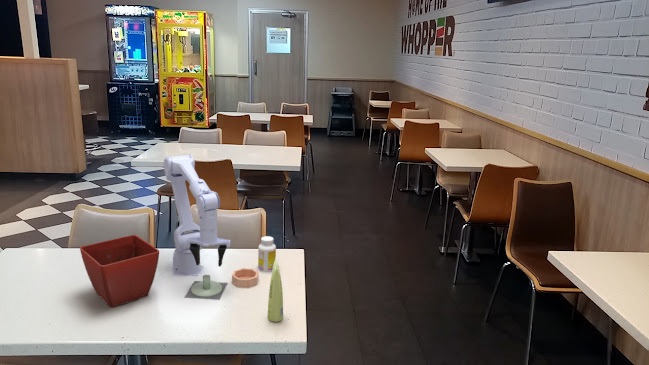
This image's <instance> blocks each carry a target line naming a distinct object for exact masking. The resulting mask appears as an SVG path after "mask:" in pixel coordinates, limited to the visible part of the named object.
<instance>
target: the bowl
mask: <svg viewBox="0 0 649 365" xmlns="http://www.w3.org/2000/svg"><path fill="white" fill-rule="evenodd" d="M259 274H260V272H258V270H255V269H254V268H248V267H247V268H245V267H243V268H239V269H236V270H234V271H233V273H232V275H231V284H233V286H235V287H237V288H242V289H243V288H245V289H249V288H252V287H256V286H257V285H258V283H259V277H260V276H259Z"/></svg>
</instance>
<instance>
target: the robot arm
mask: <svg viewBox="0 0 649 365" xmlns="http://www.w3.org/2000/svg"><path fill="white" fill-rule="evenodd" d="M195 165H196V162H195V159H194V157H193V155H192V154H185V155H176V156H165V158H164V160H163V170H164V176H165V178H166V181H169V182H170V184H171V187H172V192H173V198H174V203H175V207H176V212H177V217H178V221H179V226H178V227H177V228H176V229H174V230H175V231H174V232H173V236H174V239H173V241H174V248H175V249H174V251H173V254H172V266H173V268H172V269H173V270H172V275H174V276H175V275H178V276H191V277H193V276H194V277H198V276H199V275H200V274H201V272H202V270H203V269H204V267H205V266H203V265H201V251H202V248H203V247H209V246H211V247H212V246H215V247H218V248H217V255H218V260H217V261H218V264H217V266H218V267H221V266H222V264H223V260H224V259H223V258H224V256H225V253H226V250H227V248H230V246H231V239H226V238H220V237H218V210H219V209H220V207H221V199H220V196H219V194H218V192H216V191H214V190H211V189H210V187H209V185H208V184H207V183H206V181H205V180H204V179H203V178H199V175H198V174H197V171H196V170H195V169H196V168H195ZM186 182H187V183H188V184H189V186H188V187H189V192H191V194H192V196H193V197H194V198H195V203H196V204H195V205H196V209H197V214H198V217H199V225H198V224H197V223H195V222H194V219H193V215H192V208H191V204H190V200H189V194H188V189H187V184H186Z"/></svg>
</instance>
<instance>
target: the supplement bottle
mask: <svg viewBox="0 0 649 365" xmlns="http://www.w3.org/2000/svg"><path fill="white" fill-rule="evenodd" d="M257 251H258V255H257V256H258V257H257V259H258V261H257V262H258V264H257V267H258V270H259V271H260V272H263V273H270V272H271V273H272V270H273V265H274V261H275V257H276V258H277V255H276V254H277V246H276V244H275V243H274V237H272V236H268V235H267V236H265V235H264V236H262V237H261V238H260V243H259V245H258V250H257Z"/></svg>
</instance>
